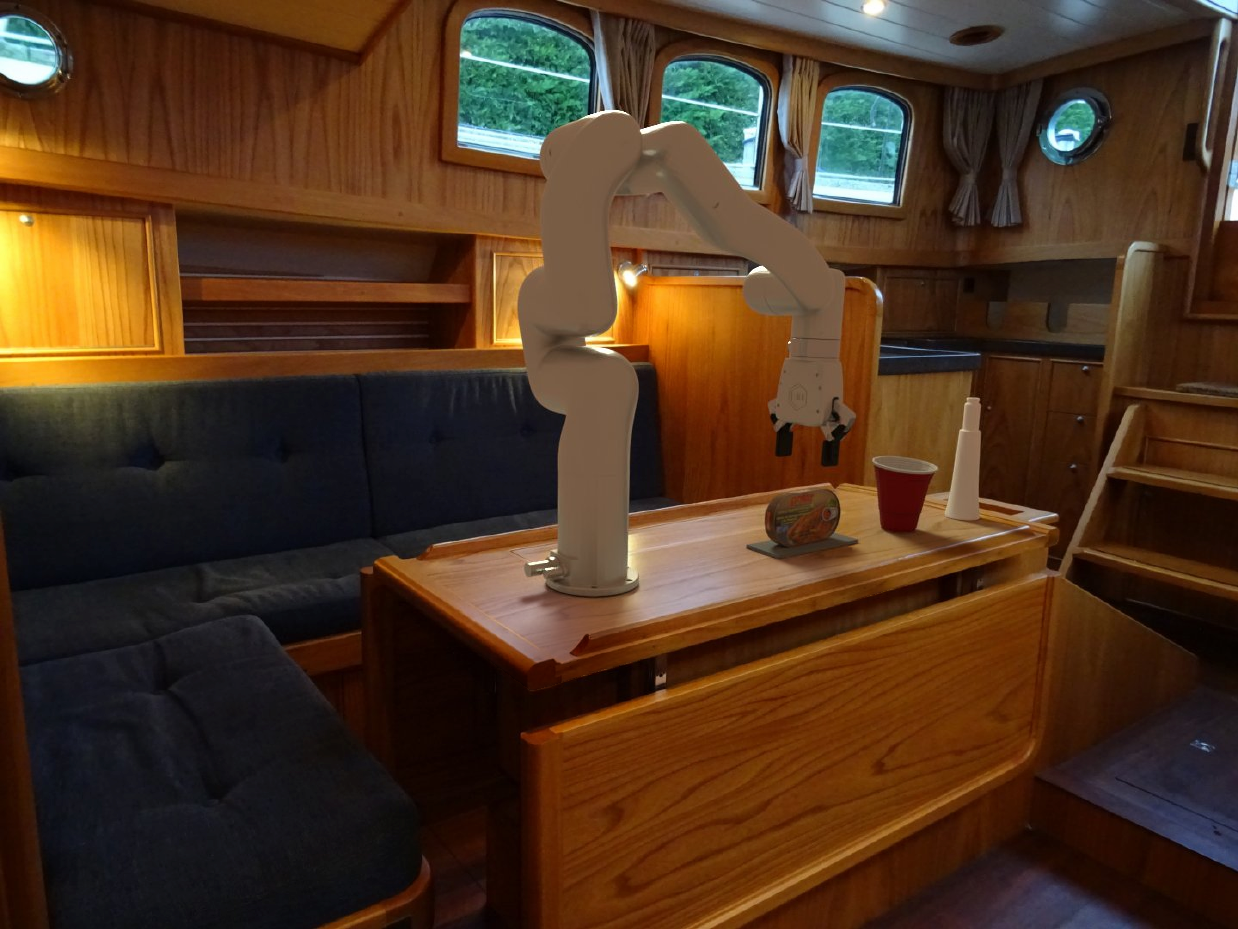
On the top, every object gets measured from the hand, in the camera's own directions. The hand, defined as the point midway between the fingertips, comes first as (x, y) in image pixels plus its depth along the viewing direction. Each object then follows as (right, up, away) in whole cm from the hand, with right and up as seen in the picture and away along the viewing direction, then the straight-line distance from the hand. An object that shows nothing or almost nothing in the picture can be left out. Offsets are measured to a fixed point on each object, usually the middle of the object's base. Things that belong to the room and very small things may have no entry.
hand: (805, 460), depth 133 cm
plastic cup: (+19, -12, +14) cm, 27 cm away
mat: (0, -13, +3) cm, 14 cm away
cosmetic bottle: (+34, -10, +24) cm, 43 cm away
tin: (0, -13, +3) cm, 13 cm away
